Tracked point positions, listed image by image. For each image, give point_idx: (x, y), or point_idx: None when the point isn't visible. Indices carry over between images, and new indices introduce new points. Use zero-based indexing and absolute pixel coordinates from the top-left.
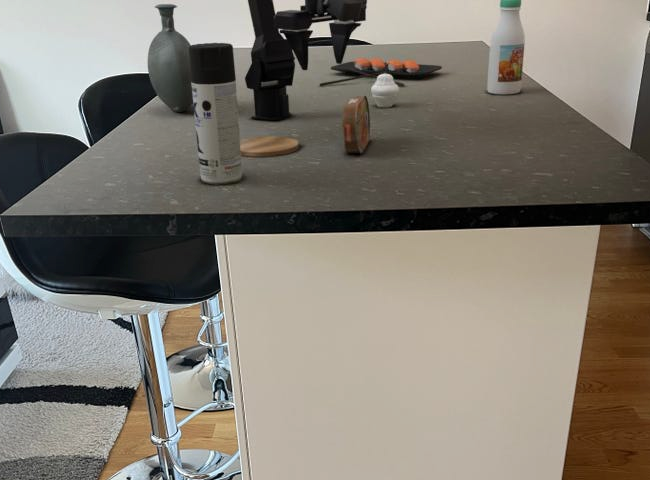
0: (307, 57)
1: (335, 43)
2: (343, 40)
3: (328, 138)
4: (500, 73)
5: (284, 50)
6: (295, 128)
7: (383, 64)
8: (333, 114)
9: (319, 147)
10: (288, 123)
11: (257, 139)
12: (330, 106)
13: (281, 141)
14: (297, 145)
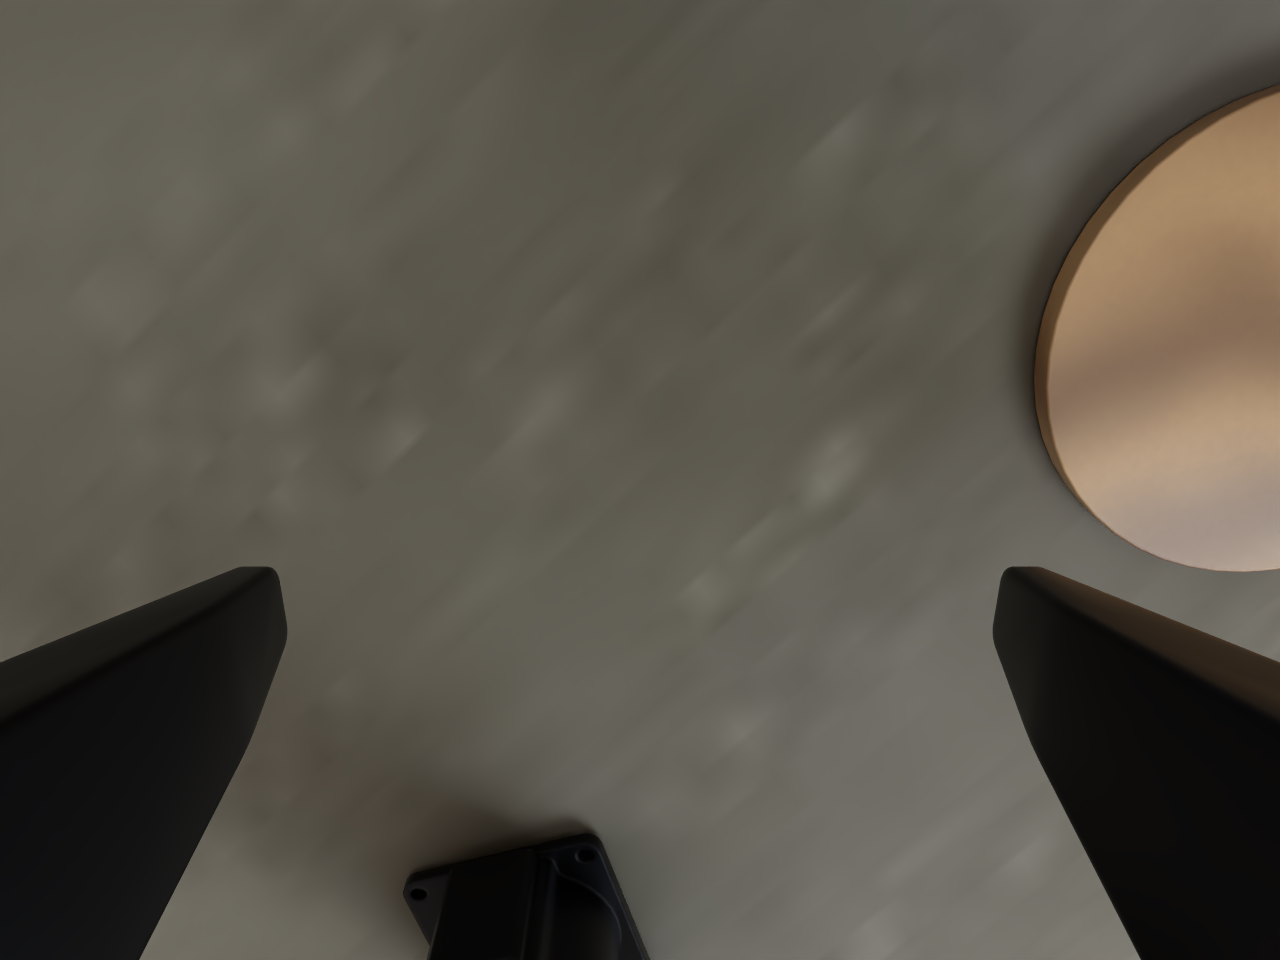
0: (1133, 629)
1: (127, 880)
2: (17, 747)
3: (771, 182)
4: None
5: None
6: (665, 610)
7: None
8: None
9: (1063, 8)
10: (582, 744)
11: (1199, 497)
12: None
13: (1179, 308)
14: (1212, 120)
